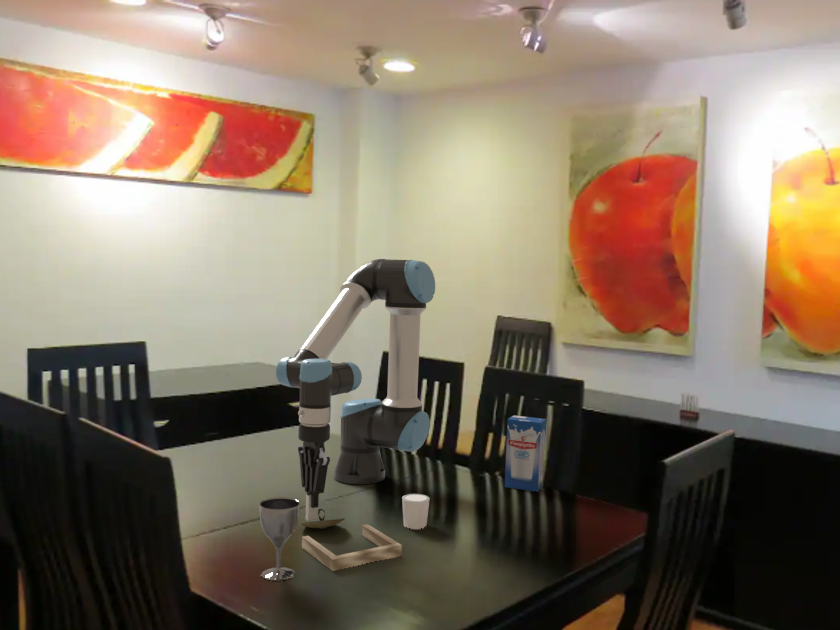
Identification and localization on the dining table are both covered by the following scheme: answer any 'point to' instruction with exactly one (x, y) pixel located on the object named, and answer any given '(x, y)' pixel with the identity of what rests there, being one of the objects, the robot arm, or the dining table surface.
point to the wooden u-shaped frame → (333, 562)
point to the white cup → (415, 510)
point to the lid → (322, 522)
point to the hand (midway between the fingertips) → (311, 519)
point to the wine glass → (279, 530)
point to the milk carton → (525, 453)
